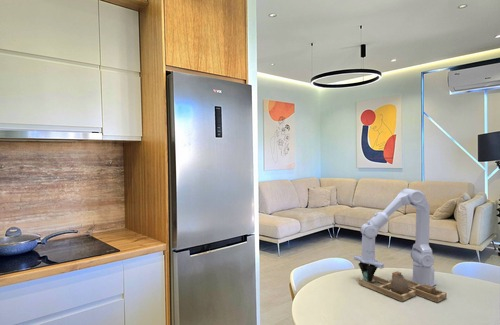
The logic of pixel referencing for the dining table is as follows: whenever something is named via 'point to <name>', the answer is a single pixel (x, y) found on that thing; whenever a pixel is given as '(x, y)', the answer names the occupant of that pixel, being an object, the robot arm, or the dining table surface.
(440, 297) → the frame
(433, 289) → the walnut cube
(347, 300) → the dining table surface
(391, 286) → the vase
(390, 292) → the tray
